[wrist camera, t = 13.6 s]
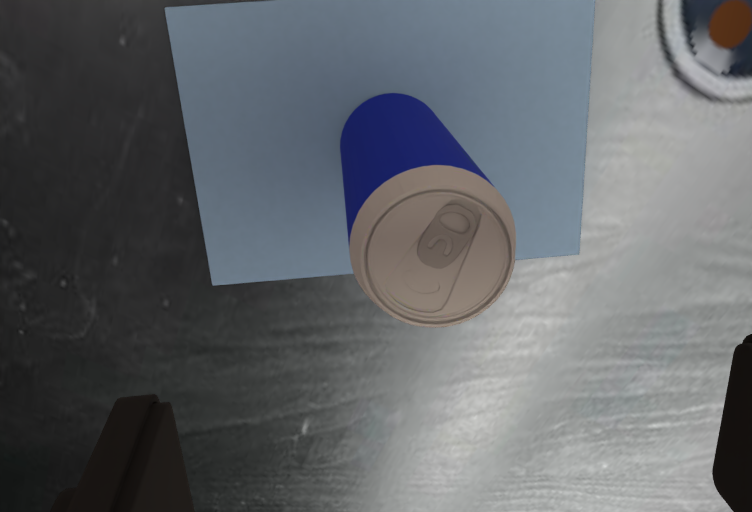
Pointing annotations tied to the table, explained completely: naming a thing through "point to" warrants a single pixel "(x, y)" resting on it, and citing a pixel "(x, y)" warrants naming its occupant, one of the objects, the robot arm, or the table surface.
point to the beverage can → (421, 216)
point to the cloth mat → (358, 84)
